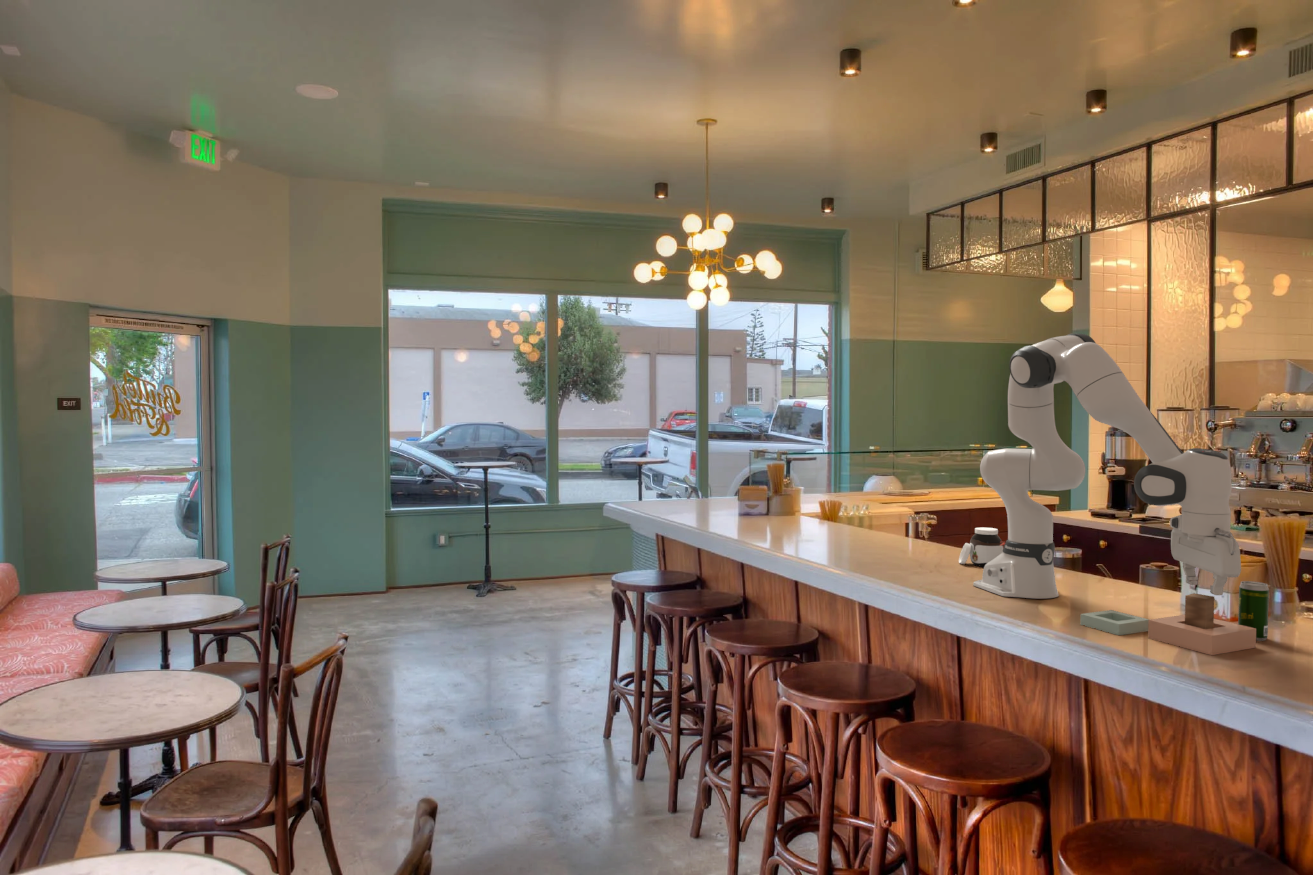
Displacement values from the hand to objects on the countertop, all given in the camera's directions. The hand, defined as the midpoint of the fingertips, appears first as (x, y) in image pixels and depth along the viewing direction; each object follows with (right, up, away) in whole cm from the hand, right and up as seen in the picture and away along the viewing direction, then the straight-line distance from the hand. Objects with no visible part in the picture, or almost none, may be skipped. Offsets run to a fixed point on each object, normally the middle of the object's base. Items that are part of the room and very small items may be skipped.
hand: (1203, 589), depth 184 cm
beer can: (+13, -12, +4) cm, 18 cm away
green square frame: (-13, -11, +12) cm, 21 cm away
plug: (-1, -11, 0) cm, 11 cm away
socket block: (-1, -11, 0) cm, 11 cm away
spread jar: (-15, -8, +88) cm, 90 cm away
